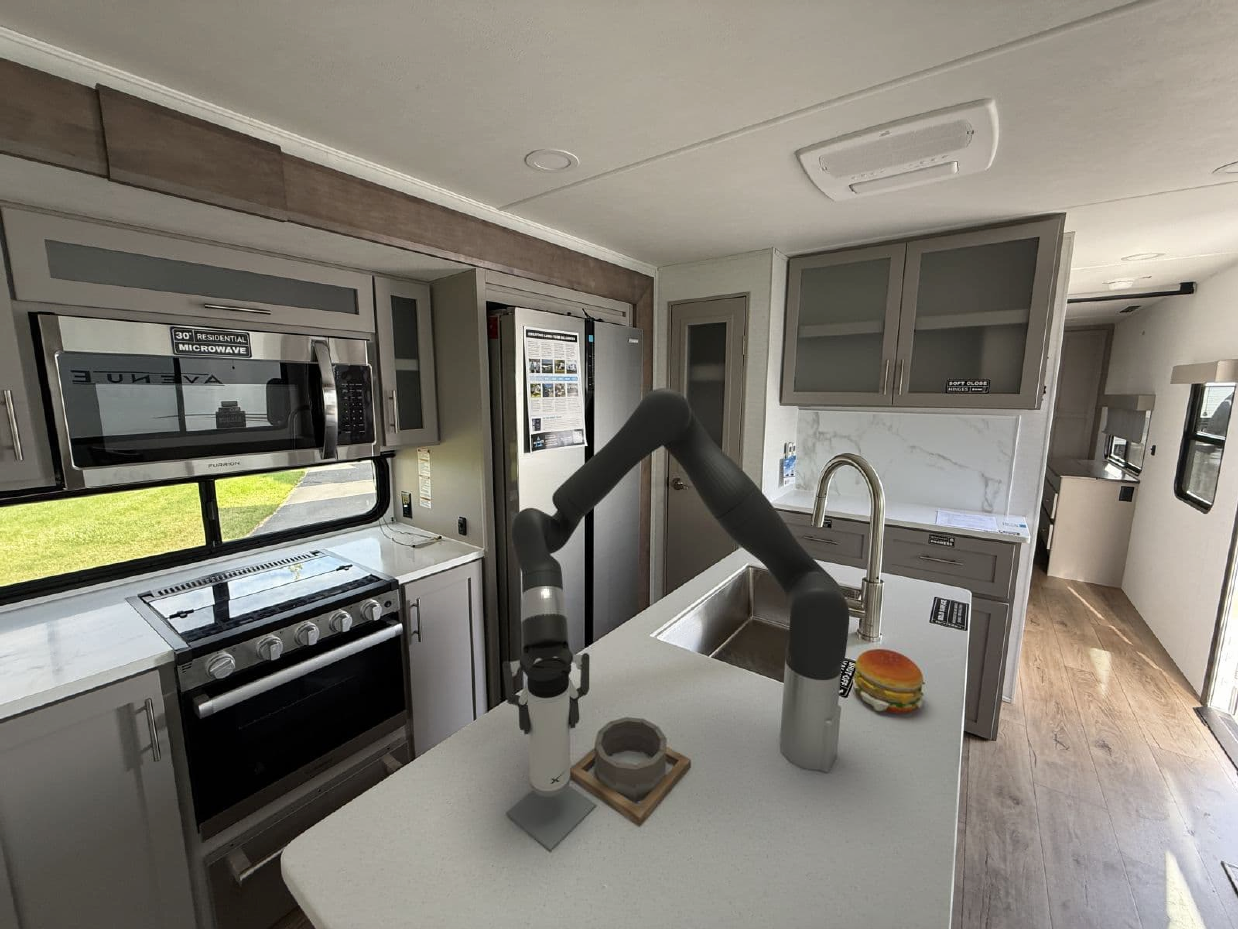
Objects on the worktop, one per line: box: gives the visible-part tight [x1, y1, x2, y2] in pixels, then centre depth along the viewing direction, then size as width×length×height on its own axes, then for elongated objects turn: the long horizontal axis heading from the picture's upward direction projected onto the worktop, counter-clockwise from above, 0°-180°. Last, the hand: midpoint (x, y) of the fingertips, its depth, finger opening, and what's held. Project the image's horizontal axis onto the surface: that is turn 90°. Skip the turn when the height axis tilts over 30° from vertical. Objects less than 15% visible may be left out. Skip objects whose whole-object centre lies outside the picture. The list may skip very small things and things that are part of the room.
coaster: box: [505, 784, 597, 853], centre depth 79 cm, size 10×10×1 cm
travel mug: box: [527, 658, 572, 797], centre depth 77 cm, size 6×7×20 cm
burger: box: [852, 648, 926, 714], centre depth 106 cm, size 13×14×10 cm
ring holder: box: [570, 716, 692, 827], centre depth 87 cm, size 15×15×6 cm
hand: (550, 730), depth 75 cm, fingers closed on travel mug, 6 cm apart
